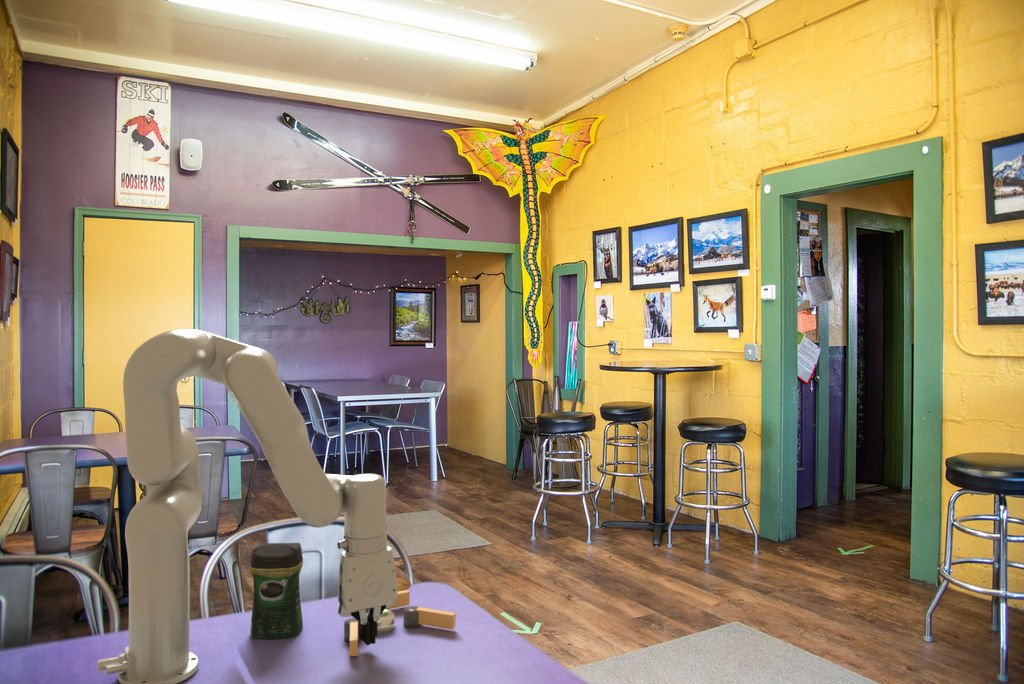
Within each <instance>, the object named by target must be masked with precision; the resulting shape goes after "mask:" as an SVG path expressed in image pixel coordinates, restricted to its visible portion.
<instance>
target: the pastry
mask: <svg viewBox="0 0 1024 684" xmlns="http://www.w3.org/2000/svg"><path fill="white" fill-rule="evenodd" d="M396 577H397V576H396ZM411 586H412V585H411V581H410V580H409V579H408V578H404V577H401V576H398V577H397V589H398V591H403V590H409V588H411Z"/></svg>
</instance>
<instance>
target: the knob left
mask: <svg viewBox="0 0 1024 684" xmlns="http://www.w3.org/2000/svg"><path fill="white" fill-rule="evenodd" d="M343 640H344V641H346V642H349V657H355V656H357V657H358V653H359V651H358V650H359V649H358V647H359V645H358V644H359V643H358V642H359V641H361V640H360V638H359V621H358V620H356V619H355V618H354V617H350V618H348V619H346V620H344V622H343Z"/></svg>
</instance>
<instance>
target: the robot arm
mask: <svg viewBox="0 0 1024 684" xmlns="http://www.w3.org/2000/svg"><path fill="white" fill-rule="evenodd" d="M278 369H279V367H278V363H277V361H276V359H275V357H274V356H273V355H272V354H271V353H270V352H268V351H267V350H265V349H262V348H260V347H256V346H253V345H249V344H245V343H243V342H239V341H236V340H233V339H229V338H226V337H223V336H220V335H218V334H215V333H214V334H213V333H212V332H211V333H210V332H207V331H204V330H200V329H193V328H188V329H186V328H185V329H182V328H181V329H180V328H179V329H171V330H167V331H164V332H161V333H159V334H156V335H154V336H153V337H151V338H148V340H145V342H143V343H142V344H140V345H139V346H138V347H137V348H136V349H134V351H133V353H132V354H131V355H130V357H129V359H128V361H127V362H126V366H125V367H124V371H123V379H122V381H123V382H122V387H123V389H122V390H123V391H122V393H123V403H124V425H125V427H124V428H125V440H126V441H125V442H126V458H127V459H126V460H127V468H128V471H129V474H130V475H131V477H132V478H133V479H134V480H135V481H136V482H138V483H139V484H141V485H144V486H145V489H146V495H145V496H143V497H142V498H141V499H140V500H138V502H136V504H135V505H134V506H133V507H132V508H131V510H130V512H129V513H128V516H127V518H126V522H125V528H124V529H125V530H124V532H125V533H124V539H125V545H126V551H127V562H128V563H127V564H128V646H126V647H125V651H124V652H122V653H119V654H118V656H114V657H107V658H106V657H105V658H101V659H97V673H99V672H105V671H106V675H107V676H109V675H113V674H116V673H117V680H119V681H118V683H119V682H120V683H121V684H179V683H182V682H184V681H185V680H187V679H189V678H190V677H191V676H194V674H195V673H196V672H197V670H198V669H199V663H200V662H199V657H198V656H197V655H196V654H195V653H193V652H191V651H190V605H191V604H190V603H191V602H190V598H191V596H190V595H191V594H190V593H191V592H190V590H191V587H190V586H191V585H190V583H191V581H190V579H191V576H190V575H191V574H190V572H191V571H190V570H191V567H190V565H191V564H190V552H189V544H188V533H189V530H191V528H192V526H193V525H195V523H196V522H197V520H198V518H199V516H200V514H201V511H202V505H203V497H202V483H201V481H202V479H201V466H200V456H199V455H200V454H199V448H198V447H199V446H198V443H197V441H196V438H195V436H194V435H193V434H192V433H193V432H191V431H190V430H189V429H187V428H186V427H185V426H184V425H181V415H180V412H181V411H180V410H181V409H180V401H179V396H178V392H177V391H178V389H177V387H178V384H179V382H181V380H183V379H187V378H191V377H197V378H200V379H203V380H208V381H210V382H213V383H218V384H221V385H224V386H225V388H226V389H227V391H228V394H229V395H230V396H231V398H232V400H233V402H234V403H235V405H236V406H237V408H238V409H239V411H240V413H241V414H242V416H243V418H244V419H245V421H246V423H247V424H248V425H249V427H250V430H251V432H253V434H254V436H255V438H256V439H257V441H258V443H259V445H260V447H261V449H262V450H261V451H262V452H263V454H264V457H265V459H266V461H267V462H268V465H269V467H270V469H271V472H272V474H273V476H274V477H275V480H276V481H277V484H278V486H279V487H280V489H281V491H282V493H283V494H284V496H285V498H286V499H287V500H288V503H289V505H290V506H291V507H292V509H293V510H294V511H293V512H295V514H296V515H297V517H298V518H299V519H300V520H301V522H303V523H304V524H306V525H308V526H309V527H312V528H319V529H320V528H326V527H328V526H331V524H332V525H333V523H335V521H336V520H337V519H338V518H339V516H340V514H341V512H342V513H343V514H344V534H343V539H341V541H337V548H338V550H342V549H343V550H344V551H342V552H341V556H340V561H339V562H340V563H339V568H338V577H337V598H338V600H337V601H338V604H339V605H338V611H337V613H338V615H339V616H340V617H342V618H355V619H356V620H358V621H359V638H360V640H359V641H362V642H363V643H364V644H365V645H366V646H370V645H371V644H372V645H374V644H376V641H377V640H376V637H378V633H377V621H378V620H379V619H380V615H381V614H382V613H383V611H384V610H385V608H388V607H390V606H392V605H394V604H395V603H396V599H397V594H398V589H397V572H396V571H397V570H396V563H395V557H394V556H395V555H394V554H393V553H394V552H393V550H392V547H391V546H389V545H388V531H387V529H388V528H387V521H388V520H387V487H386V485H387V484H386V480H385V478H384V476H382V475H380V474H377V473H359V474H353V475H345V474H333V473H326V472H325V471H324V470H323V468H322V466H321V465H320V462H319V461H318V459H317V457H316V455H315V452H314V450H313V447H312V445H311V441H310V438H309V432H308V427H307V424H306V422H305V419H304V416H303V415H302V413H301V411H300V410H299V408H298V407H297V405H296V404H295V402H294V400H293V398H292V396H290V394H289V392H288V390H287V388H286V387H285V386H284V383H283V381H282V380H281V378H280V376H279V375H278ZM366 609H369V610H368V617H367V615H366ZM120 683H119V684H120Z"/></svg>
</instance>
